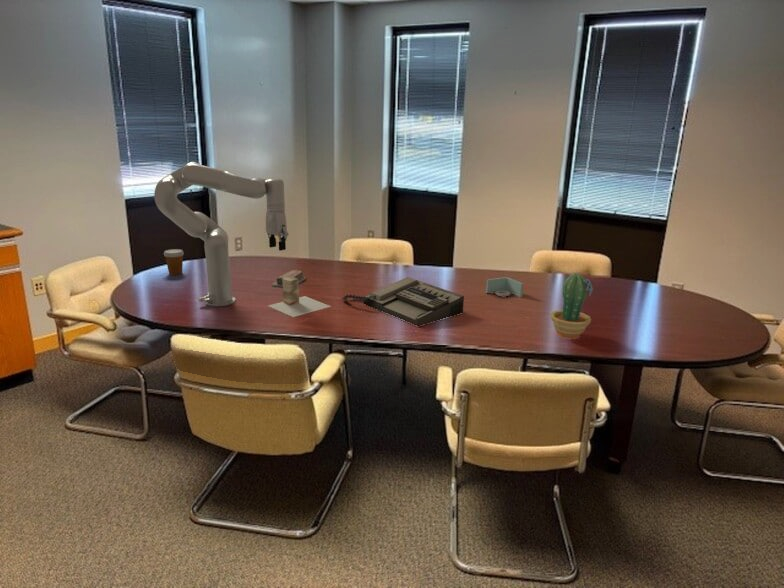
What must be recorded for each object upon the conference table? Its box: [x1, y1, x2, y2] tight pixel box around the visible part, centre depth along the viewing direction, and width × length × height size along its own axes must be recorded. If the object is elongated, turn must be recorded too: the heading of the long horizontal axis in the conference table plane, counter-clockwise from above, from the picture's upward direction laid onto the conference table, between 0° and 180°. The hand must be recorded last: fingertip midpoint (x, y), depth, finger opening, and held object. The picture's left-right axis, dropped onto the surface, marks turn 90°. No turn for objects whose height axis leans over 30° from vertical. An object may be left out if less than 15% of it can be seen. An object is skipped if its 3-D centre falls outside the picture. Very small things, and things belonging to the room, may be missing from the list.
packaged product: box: [271, 269, 307, 288], centre depth 278 cm, size 18×5×10 cm
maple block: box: [282, 277, 300, 305], centre depth 246 cm, size 5×5×11 cm
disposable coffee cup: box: [163, 248, 185, 276], centre depth 286 cm, size 10×10×12 cm
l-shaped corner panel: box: [485, 276, 524, 298], centre depth 265 cm, size 12×12×8 cm
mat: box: [267, 295, 331, 318], centre depth 243 cm, size 20×19×1 cm
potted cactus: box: [549, 273, 594, 339], centre depth 215 cm, size 15×15×25 cm
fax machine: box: [341, 276, 465, 326], centre depth 245 cm, size 45×34×10 cm
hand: (277, 248), depth 246 cm, fingers open, 6 cm apart
